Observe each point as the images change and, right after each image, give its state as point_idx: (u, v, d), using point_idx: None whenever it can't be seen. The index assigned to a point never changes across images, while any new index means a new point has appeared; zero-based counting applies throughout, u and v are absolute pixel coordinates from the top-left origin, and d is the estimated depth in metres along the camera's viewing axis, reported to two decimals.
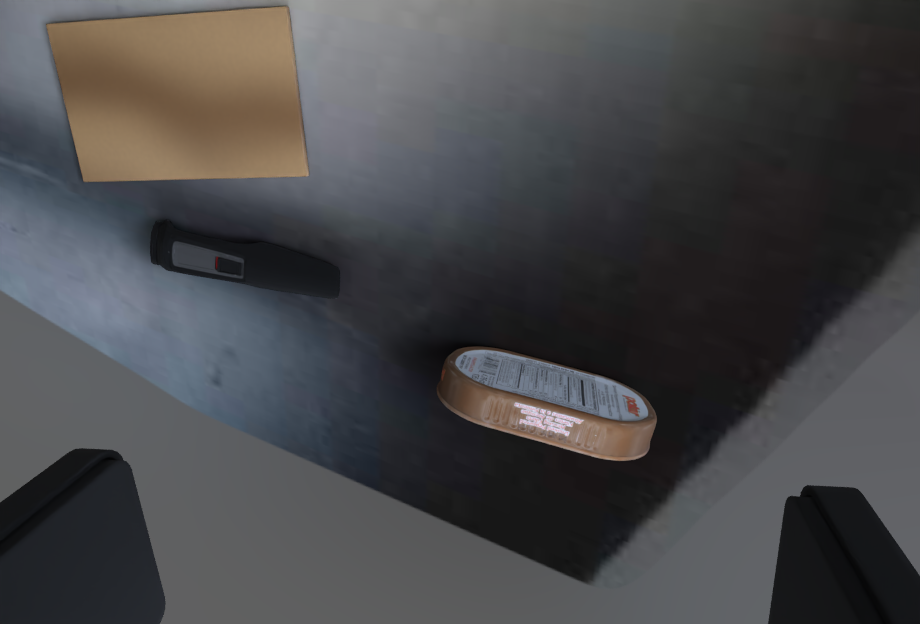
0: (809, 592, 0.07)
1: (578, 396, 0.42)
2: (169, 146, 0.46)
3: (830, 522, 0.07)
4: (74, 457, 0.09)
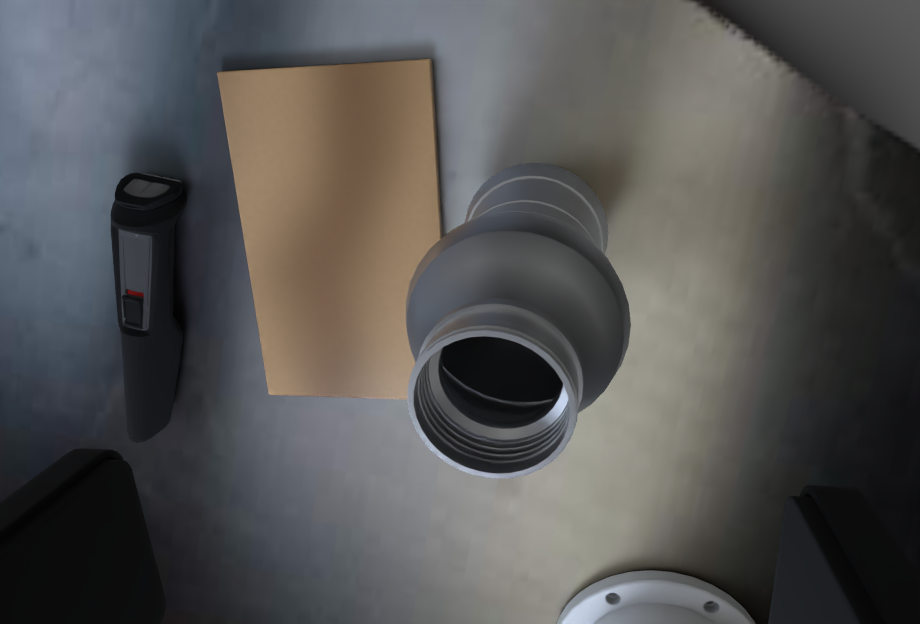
0: (809, 592, 0.07)
1: None
2: (282, 223, 0.34)
3: (830, 522, 0.07)
4: (74, 457, 0.09)
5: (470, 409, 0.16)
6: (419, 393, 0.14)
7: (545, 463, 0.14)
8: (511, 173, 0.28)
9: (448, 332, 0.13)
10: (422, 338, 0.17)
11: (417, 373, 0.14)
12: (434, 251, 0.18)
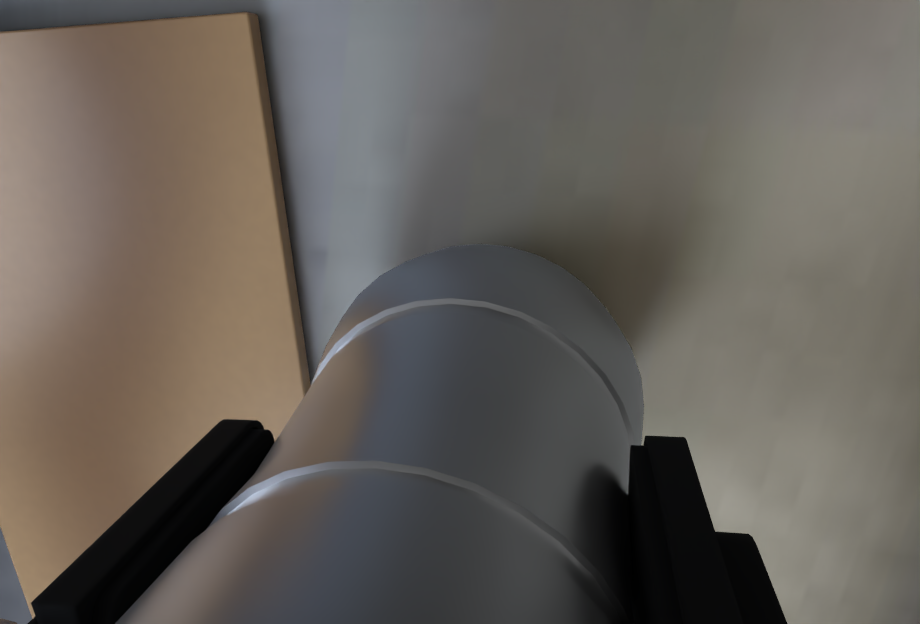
0: (634, 522, 0.08)
1: None
2: (5, 340, 0.18)
3: (652, 463, 0.08)
4: (226, 426, 0.10)
5: None
6: None
7: None
8: (411, 283, 0.11)
9: None
10: None
11: None
12: None
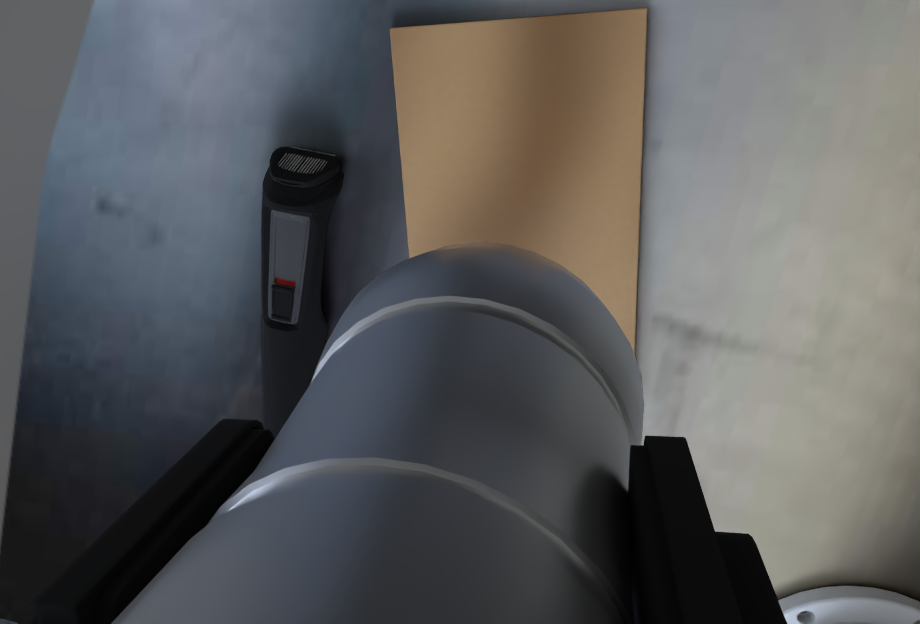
0: (635, 522, 0.08)
1: None
2: (453, 201, 0.30)
3: (652, 463, 0.08)
4: (226, 426, 0.10)
5: None
6: None
7: None
8: (410, 281, 0.11)
9: None
10: None
11: None
12: None
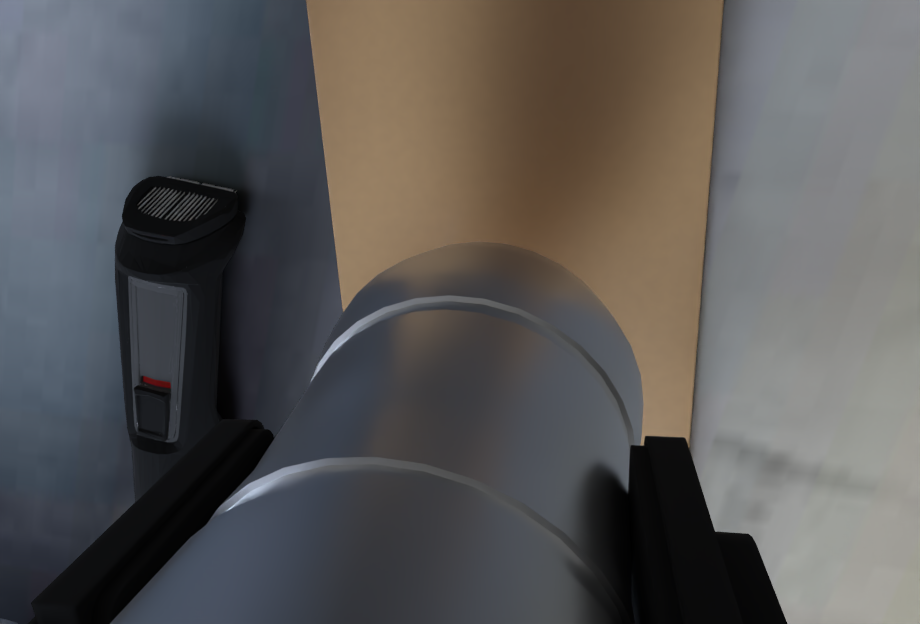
0: (634, 522, 0.08)
1: None
2: None
3: (652, 462, 0.08)
4: (226, 426, 0.10)
5: None
6: None
7: None
8: (410, 280, 0.11)
9: None
10: None
11: None
12: None
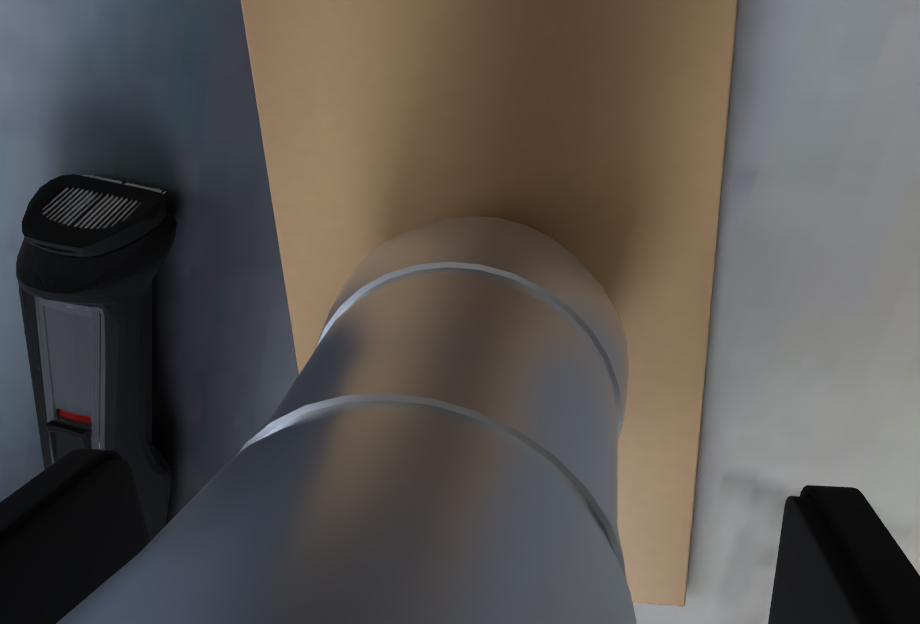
0: (809, 592, 0.07)
1: None
2: None
3: (830, 522, 0.07)
4: (74, 457, 0.09)
5: None
6: None
7: None
8: (409, 249, 0.12)
9: None
10: None
11: None
12: None
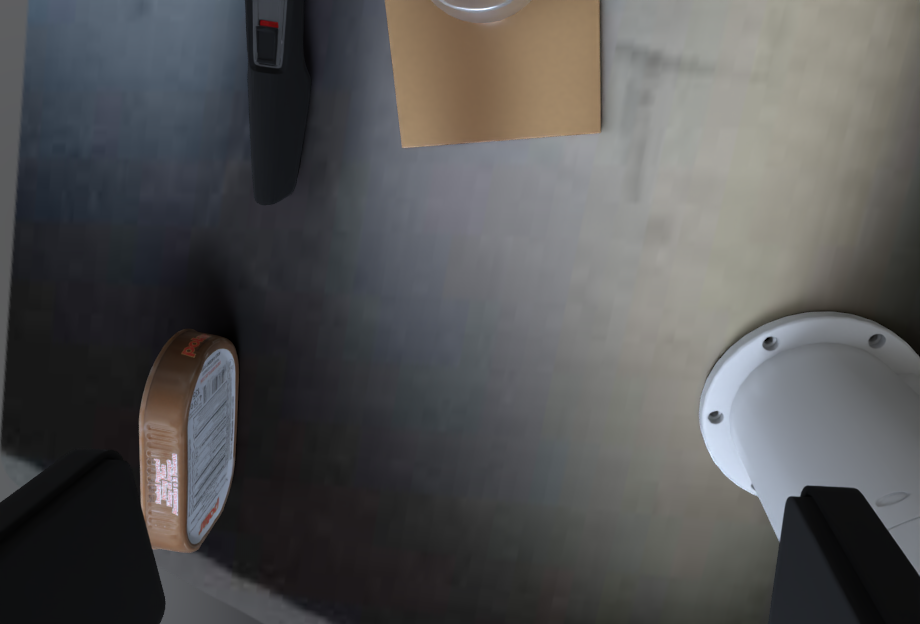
0: (809, 592, 0.07)
1: (204, 479, 0.41)
2: None
3: (830, 522, 0.07)
4: (74, 457, 0.09)
5: None
6: None
7: None
8: None
9: None
10: None
11: None
12: None
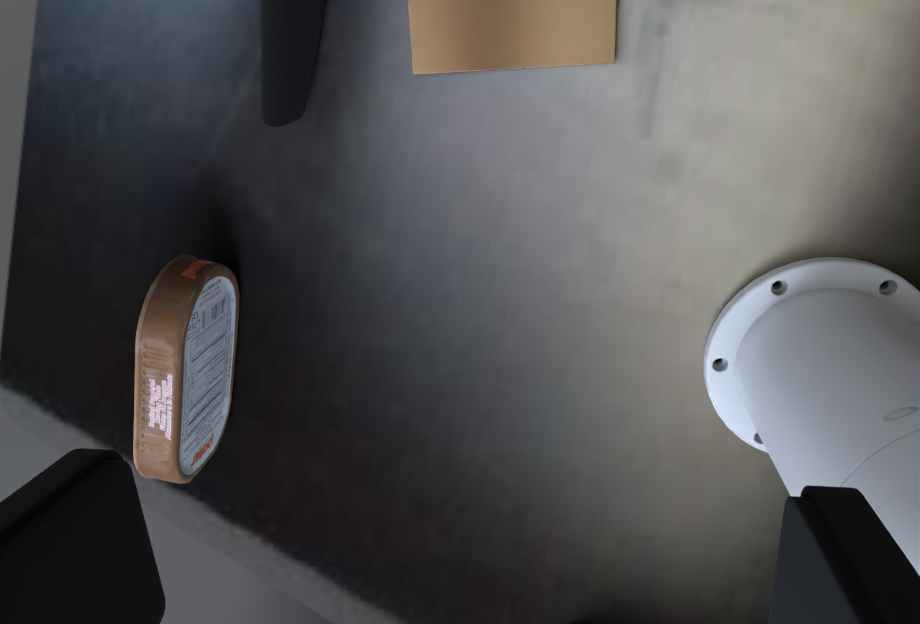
0: (809, 592, 0.07)
1: (198, 410, 0.40)
2: None
3: (830, 522, 0.07)
4: (74, 457, 0.09)
5: None
6: None
7: None
8: None
9: None
10: None
11: None
12: None
